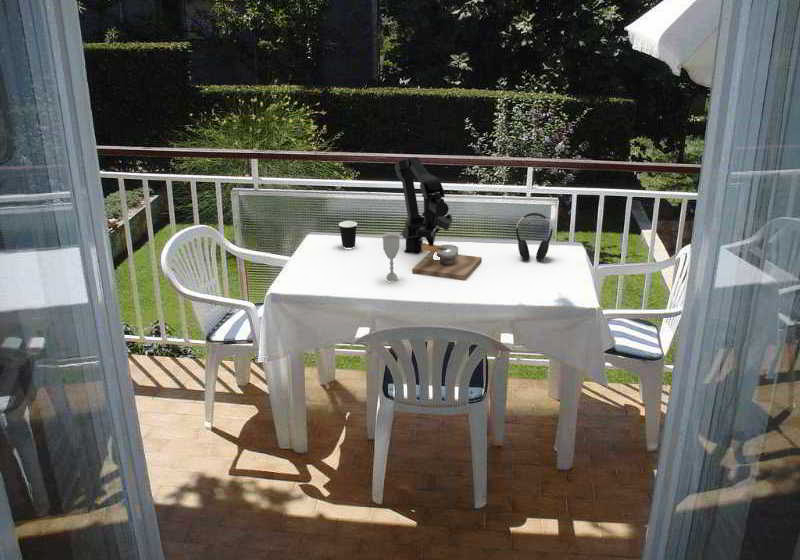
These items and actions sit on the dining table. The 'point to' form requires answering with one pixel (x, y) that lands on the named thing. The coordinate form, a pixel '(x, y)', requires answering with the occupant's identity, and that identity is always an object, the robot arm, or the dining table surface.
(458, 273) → the wooden cutting board
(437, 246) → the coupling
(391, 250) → the chalice
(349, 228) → the dixie cup
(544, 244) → the headphones
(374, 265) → the dining table surface
